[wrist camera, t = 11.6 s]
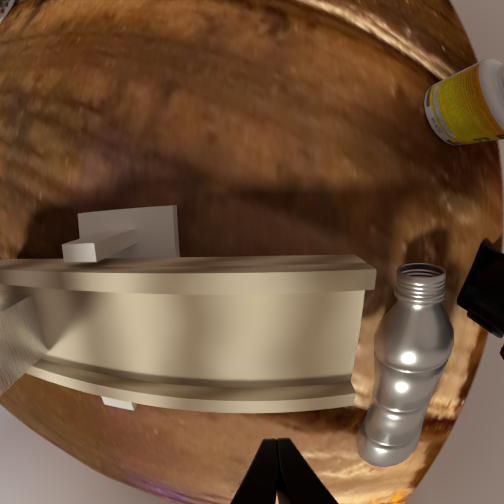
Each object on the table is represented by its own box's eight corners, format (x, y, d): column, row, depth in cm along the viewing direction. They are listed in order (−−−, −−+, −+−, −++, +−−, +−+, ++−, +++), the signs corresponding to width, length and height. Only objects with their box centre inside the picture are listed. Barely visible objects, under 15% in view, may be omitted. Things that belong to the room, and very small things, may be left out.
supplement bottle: (443, 157, 17) (536, 148, 7) (410, 97, 16) (493, 54, 6) (475, 133, 17) (556, 120, 7) (445, 79, 16) (520, 44, 6)
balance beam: (339, 244, 18) (376, 269, 12) (330, 352, 20) (352, 405, 14) (5, 252, 19) (-38, 267, 12) (24, 330, 20) (-12, 356, 14)
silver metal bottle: (367, 424, 25) (387, 255, 21) (419, 436, 20) (464, 260, 16) (342, 464, 20) (362, 280, 16) (401, 480, 16) (467, 290, 12)
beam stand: (176, 205, 19) (138, 211, 12) (194, 374, 21) (177, 429, 15) (84, 212, 19) (29, 222, 12) (112, 366, 22) (80, 409, 15)
